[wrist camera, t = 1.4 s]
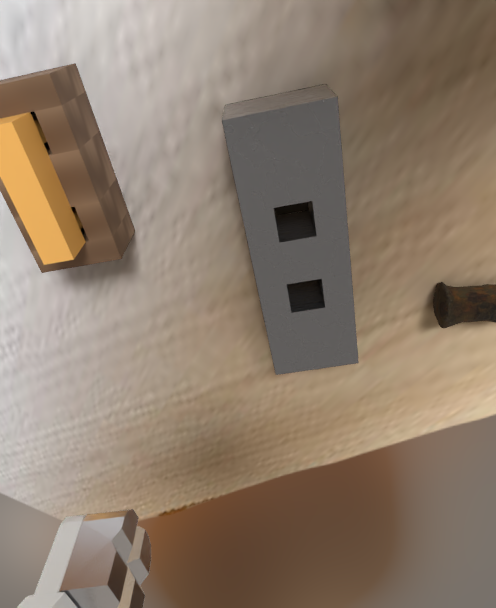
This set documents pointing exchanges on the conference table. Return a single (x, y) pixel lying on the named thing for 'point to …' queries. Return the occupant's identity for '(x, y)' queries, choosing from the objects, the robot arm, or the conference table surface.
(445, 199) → the conference table surface
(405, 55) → the conference table surface
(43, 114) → the holder
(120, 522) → the robot arm
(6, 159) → the orange slab
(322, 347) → the grey slotted block
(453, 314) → the hand tool
